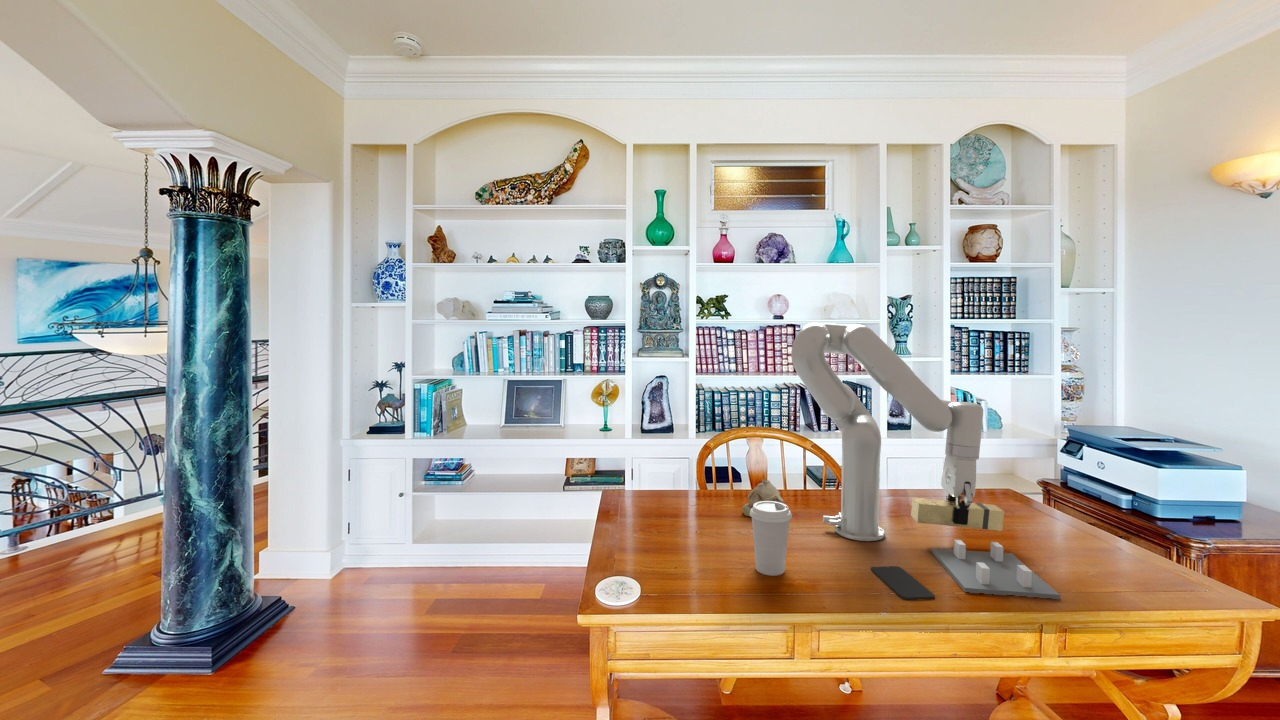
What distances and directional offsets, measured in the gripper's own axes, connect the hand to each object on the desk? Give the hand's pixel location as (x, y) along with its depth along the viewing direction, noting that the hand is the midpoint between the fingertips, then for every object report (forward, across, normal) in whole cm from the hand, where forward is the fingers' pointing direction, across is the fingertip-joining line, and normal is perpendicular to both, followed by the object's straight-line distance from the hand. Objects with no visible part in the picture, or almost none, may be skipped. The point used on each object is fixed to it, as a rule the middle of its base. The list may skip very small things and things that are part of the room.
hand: (955, 519), depth 143 cm
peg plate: (+6, +17, +2) cm, 18 cm away
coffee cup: (+9, +23, -47) cm, 53 cm away
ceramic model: (+10, -18, -47) cm, 51 cm away
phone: (+8, +25, -19) cm, 33 cm away
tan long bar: (+1, 0, 0) cm, 1 cm away
